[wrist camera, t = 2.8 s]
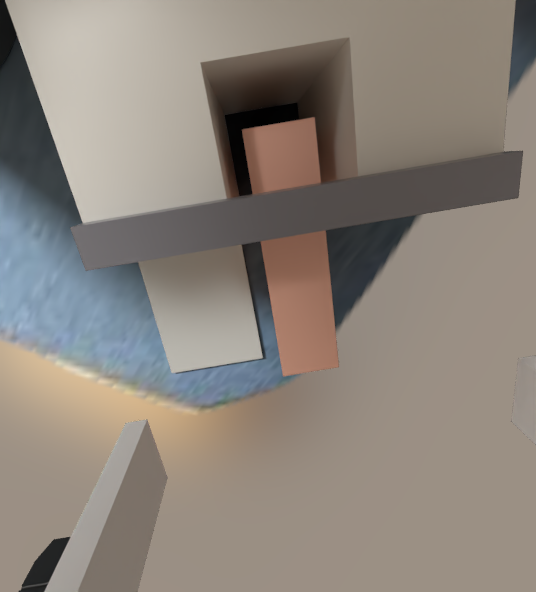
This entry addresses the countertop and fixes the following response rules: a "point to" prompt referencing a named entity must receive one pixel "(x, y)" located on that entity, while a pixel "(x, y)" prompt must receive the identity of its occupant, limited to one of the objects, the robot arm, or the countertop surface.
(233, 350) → the mat
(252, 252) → the countertop surface
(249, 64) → the dispenser
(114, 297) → the countertop surface
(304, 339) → the salmon pink slab
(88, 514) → the robot arm
